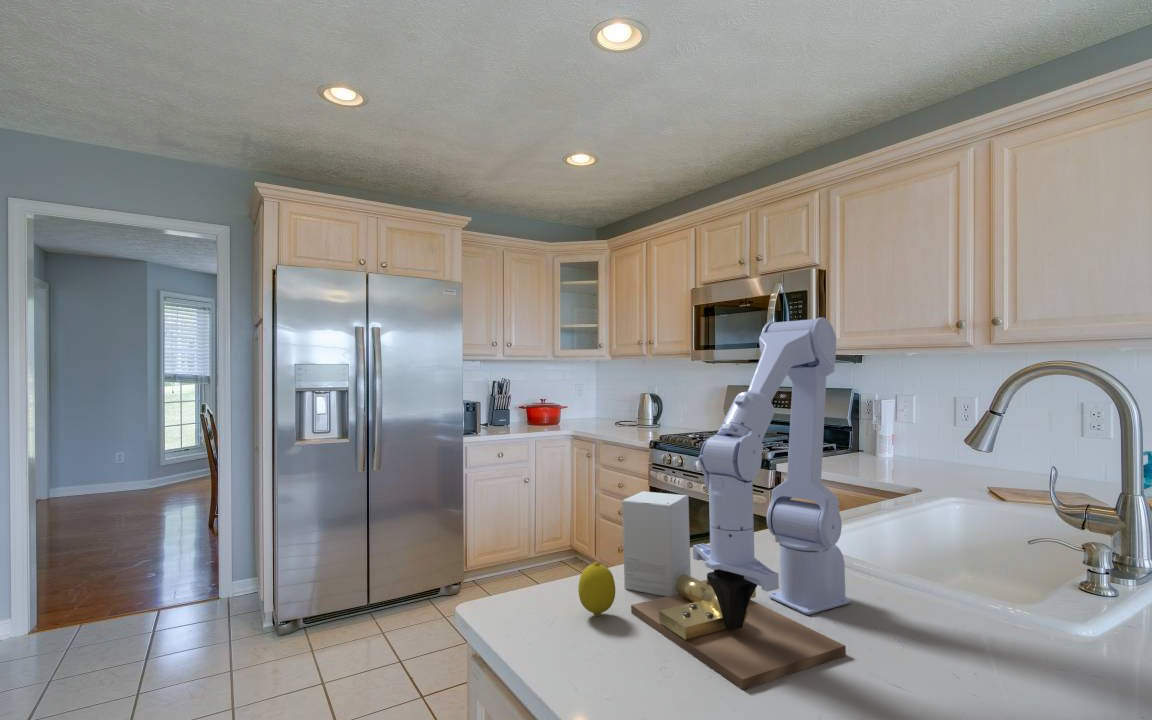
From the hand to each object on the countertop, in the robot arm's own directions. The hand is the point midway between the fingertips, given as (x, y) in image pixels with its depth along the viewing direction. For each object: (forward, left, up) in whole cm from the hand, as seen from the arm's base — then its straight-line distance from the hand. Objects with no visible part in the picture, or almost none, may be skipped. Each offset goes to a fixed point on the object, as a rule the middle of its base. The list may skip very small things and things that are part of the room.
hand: (733, 627), depth 77 cm
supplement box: (-3, -22, -2) cm, 23 cm away
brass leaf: (+2, -4, -1) cm, 5 cm away
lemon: (+12, -16, -2) cm, 20 cm away
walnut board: (-2, -3, -2) cm, 4 cm away
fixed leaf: (-6, -11, -1) cm, 13 cm away
